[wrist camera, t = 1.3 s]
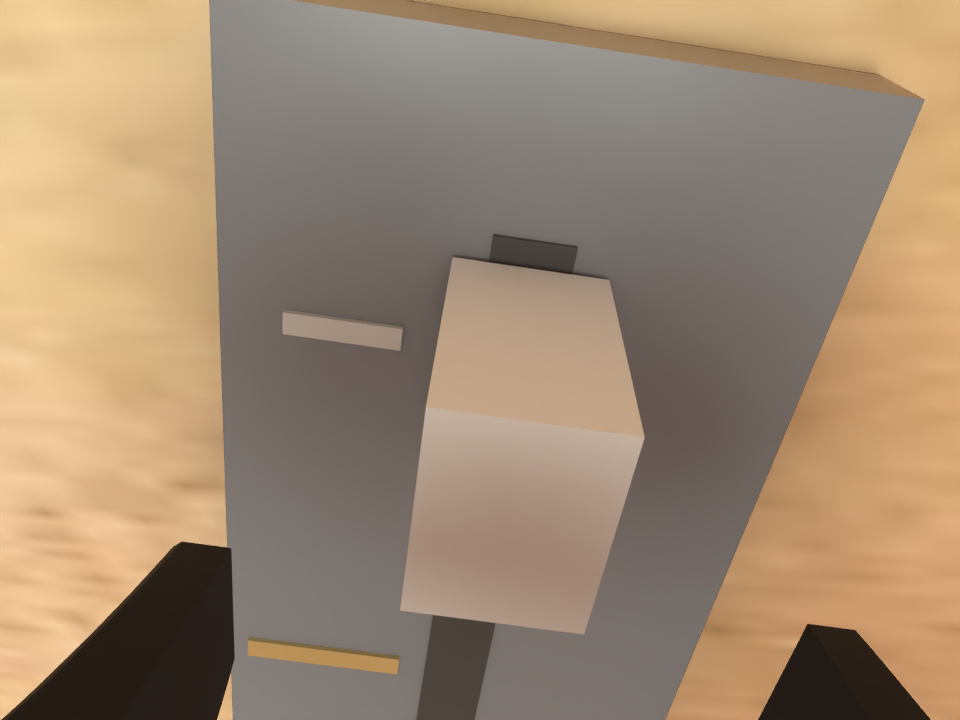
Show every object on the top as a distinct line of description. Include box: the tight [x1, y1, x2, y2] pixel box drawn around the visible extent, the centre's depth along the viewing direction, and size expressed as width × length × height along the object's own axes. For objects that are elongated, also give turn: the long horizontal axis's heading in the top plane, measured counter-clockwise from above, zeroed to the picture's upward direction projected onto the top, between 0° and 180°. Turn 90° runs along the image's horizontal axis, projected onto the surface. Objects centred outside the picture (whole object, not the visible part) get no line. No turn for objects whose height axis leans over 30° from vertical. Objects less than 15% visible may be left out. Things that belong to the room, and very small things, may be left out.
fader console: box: [209, 0, 924, 720], centre depth 21 cm, size 12×26×2 cm, turn 172°
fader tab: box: [400, 257, 645, 634], centre depth 14 cm, size 3×4×5 cm
